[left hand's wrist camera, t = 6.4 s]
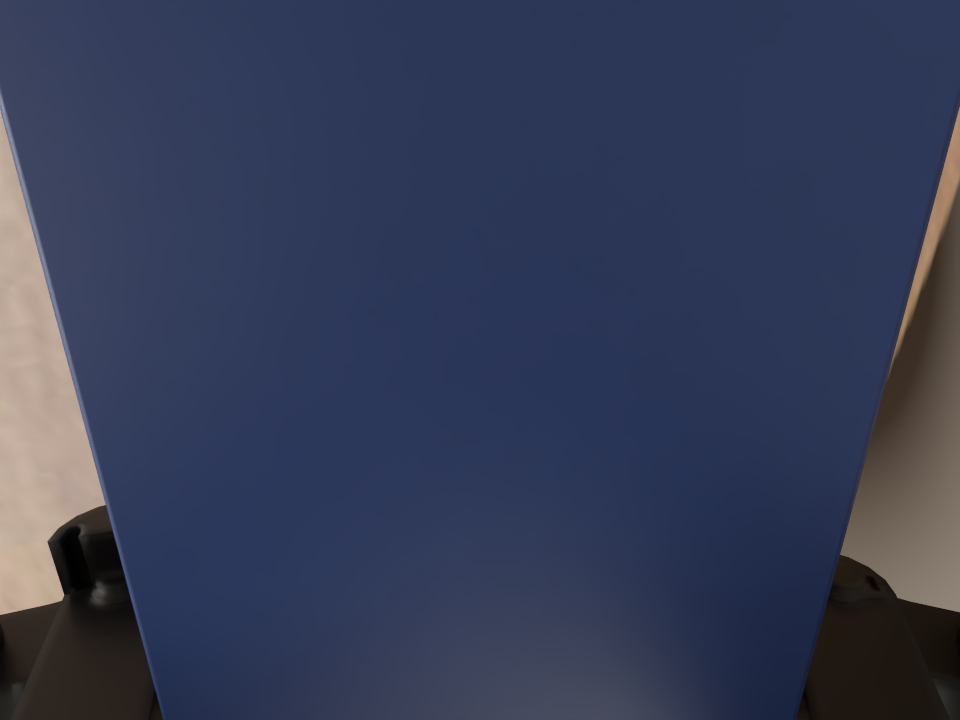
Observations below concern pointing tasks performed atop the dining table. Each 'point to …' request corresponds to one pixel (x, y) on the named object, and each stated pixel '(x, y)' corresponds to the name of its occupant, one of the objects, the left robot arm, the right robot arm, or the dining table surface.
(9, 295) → the dining table surface
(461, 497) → the box
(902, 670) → the left robot arm
